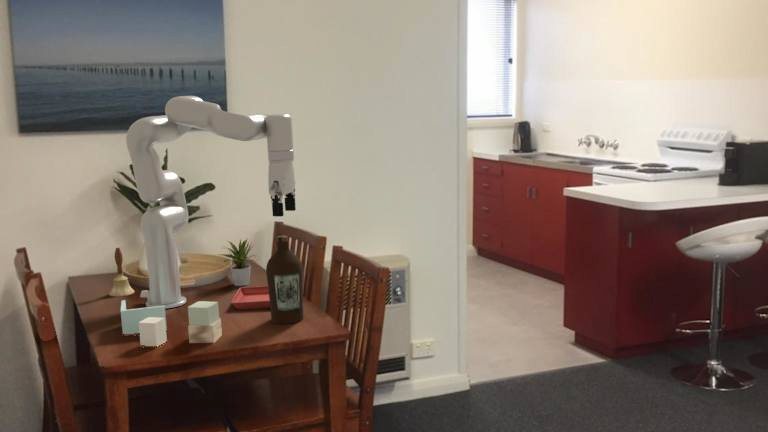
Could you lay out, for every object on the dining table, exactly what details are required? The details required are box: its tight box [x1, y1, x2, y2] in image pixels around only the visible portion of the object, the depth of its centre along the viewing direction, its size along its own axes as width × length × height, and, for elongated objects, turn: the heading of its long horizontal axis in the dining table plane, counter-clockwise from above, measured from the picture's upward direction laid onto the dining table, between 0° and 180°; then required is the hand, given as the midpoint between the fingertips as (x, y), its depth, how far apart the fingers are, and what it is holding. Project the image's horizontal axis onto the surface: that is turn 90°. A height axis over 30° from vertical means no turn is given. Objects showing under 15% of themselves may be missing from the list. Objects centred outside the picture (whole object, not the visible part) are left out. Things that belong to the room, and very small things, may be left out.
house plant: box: [217, 237, 256, 287], centre depth 280 cm, size 14×14×16 cm
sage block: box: [187, 300, 220, 326], centre depth 221 cm, size 6×6×5 cm
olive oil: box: [265, 235, 304, 325], centre depth 235 cm, size 11×11×25 cm
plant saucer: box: [230, 285, 270, 310], centre depth 257 cm, size 18×18×3 cm
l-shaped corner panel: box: [120, 299, 168, 335], centre depth 233 cm, size 12×12×8 cm
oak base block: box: [187, 317, 223, 344], centre depth 222 cm, size 7×7×5 cm
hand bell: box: [108, 247, 136, 297], centre depth 273 cm, size 8×8×16 cm
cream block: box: [139, 317, 168, 347], centre depth 218 cm, size 5×5×7 cm
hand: (284, 213), depth 240 cm, fingers open, 9 cm apart
